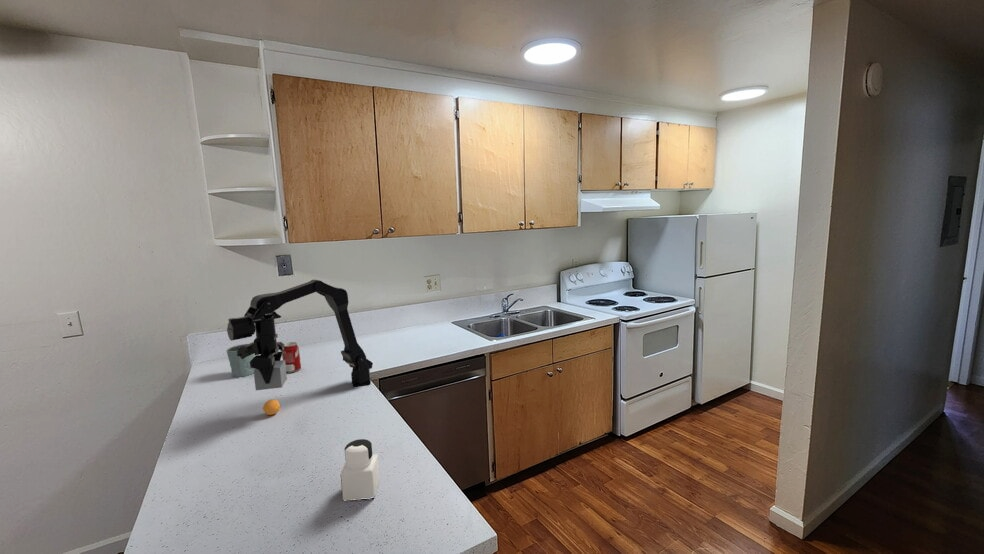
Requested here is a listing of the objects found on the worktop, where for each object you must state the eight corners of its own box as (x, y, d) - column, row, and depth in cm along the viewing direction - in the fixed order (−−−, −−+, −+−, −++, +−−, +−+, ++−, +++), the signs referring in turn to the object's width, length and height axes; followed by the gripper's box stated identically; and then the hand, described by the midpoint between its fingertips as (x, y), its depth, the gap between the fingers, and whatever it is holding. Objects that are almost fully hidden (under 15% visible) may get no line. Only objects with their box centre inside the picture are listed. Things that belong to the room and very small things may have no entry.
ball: (261, 406, 142) (275, 414, 144) (258, 412, 137) (272, 420, 139) (270, 394, 143) (284, 401, 144) (267, 400, 138) (281, 407, 139)
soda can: (294, 373, 178) (291, 346, 176) (280, 373, 180) (277, 346, 178) (304, 368, 185) (301, 341, 183) (291, 367, 186) (288, 341, 184)
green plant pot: (262, 371, 183) (259, 345, 181) (240, 380, 173) (236, 352, 172) (247, 368, 187) (243, 342, 185) (224, 377, 178) (220, 349, 176)
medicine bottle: (350, 483, 102) (346, 436, 101) (380, 480, 103) (376, 434, 101) (342, 502, 95) (337, 453, 94) (374, 499, 96) (370, 450, 94)
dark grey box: (286, 379, 145) (285, 360, 144) (281, 387, 137) (279, 367, 136) (262, 381, 143) (260, 362, 142) (255, 390, 135) (253, 370, 134)
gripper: (247, 329, 144) (252, 372, 147) (228, 343, 127) (234, 393, 129) (282, 325, 147) (286, 368, 149) (269, 340, 129) (274, 388, 131)
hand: (270, 379), depth 140 cm, fingers closed on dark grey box, 8 cm apart
